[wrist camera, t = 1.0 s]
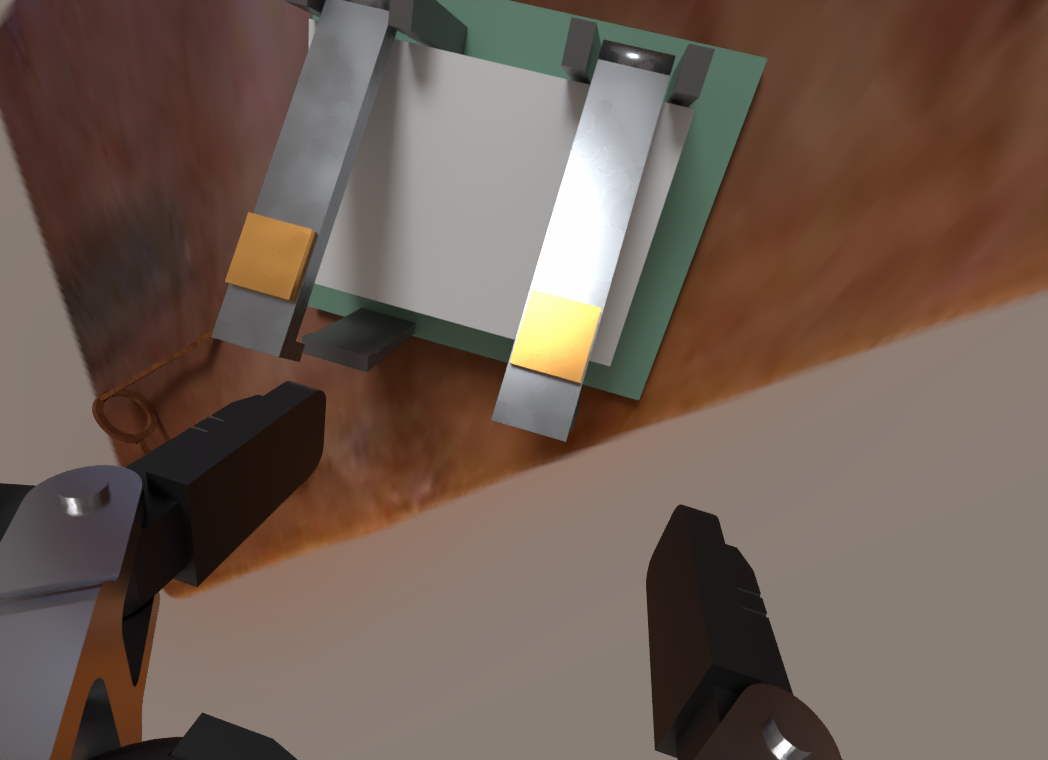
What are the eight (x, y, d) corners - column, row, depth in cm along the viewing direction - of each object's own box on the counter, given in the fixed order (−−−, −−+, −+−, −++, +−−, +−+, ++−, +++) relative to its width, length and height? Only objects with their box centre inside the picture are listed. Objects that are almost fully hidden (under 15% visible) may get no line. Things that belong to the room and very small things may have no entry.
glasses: (131, 381, 42) (72, 407, 37) (227, 319, 37) (173, 340, 33) (228, 496, 46) (185, 532, 41) (326, 452, 41) (290, 487, 37)
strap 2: (600, 64, 21) (605, 27, 19) (667, 80, 21) (679, 44, 19) (496, 420, 20) (490, 419, 18) (564, 440, 20) (566, 442, 18)
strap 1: (350, 6, 22) (330, -35, 20) (410, 20, 22) (396, -19, 20) (236, 343, 21) (204, 335, 19) (299, 361, 21) (272, 355, 19)
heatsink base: (324, -37, 26) (210, -112, 19) (762, 62, 24) (819, 19, 17) (316, 302, 35) (235, 338, 28) (638, 394, 33) (642, 458, 26)
